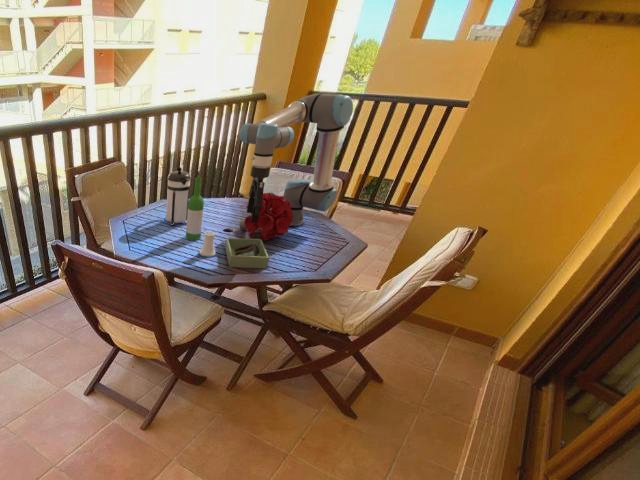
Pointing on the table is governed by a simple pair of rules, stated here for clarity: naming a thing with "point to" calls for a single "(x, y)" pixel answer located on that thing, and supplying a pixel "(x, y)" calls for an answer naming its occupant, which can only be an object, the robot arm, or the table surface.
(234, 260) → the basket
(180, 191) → the coffee press
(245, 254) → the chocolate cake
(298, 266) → the table surface
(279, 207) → the bouquet
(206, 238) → the salt shaker
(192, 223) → the wine bottle
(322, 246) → the table surface
